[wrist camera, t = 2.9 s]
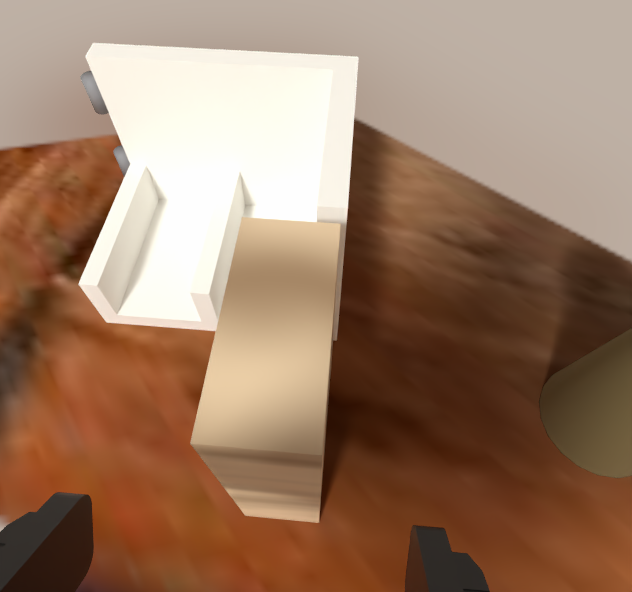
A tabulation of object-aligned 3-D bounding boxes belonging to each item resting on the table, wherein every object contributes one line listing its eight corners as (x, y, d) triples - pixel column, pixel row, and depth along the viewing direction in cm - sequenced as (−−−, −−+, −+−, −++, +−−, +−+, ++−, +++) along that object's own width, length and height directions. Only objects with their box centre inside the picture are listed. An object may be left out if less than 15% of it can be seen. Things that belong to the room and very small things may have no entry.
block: (318, 522, 23) (322, 455, 13) (245, 515, 23) (190, 443, 13) (330, 367, 27) (340, 223, 17) (269, 361, 27) (241, 216, 17)
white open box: (336, 340, 28) (347, 208, 19) (89, 320, 28) (-20, 183, 19) (346, 208, 33) (358, 56, 24) (138, 195, 34) (73, 41, 25)
